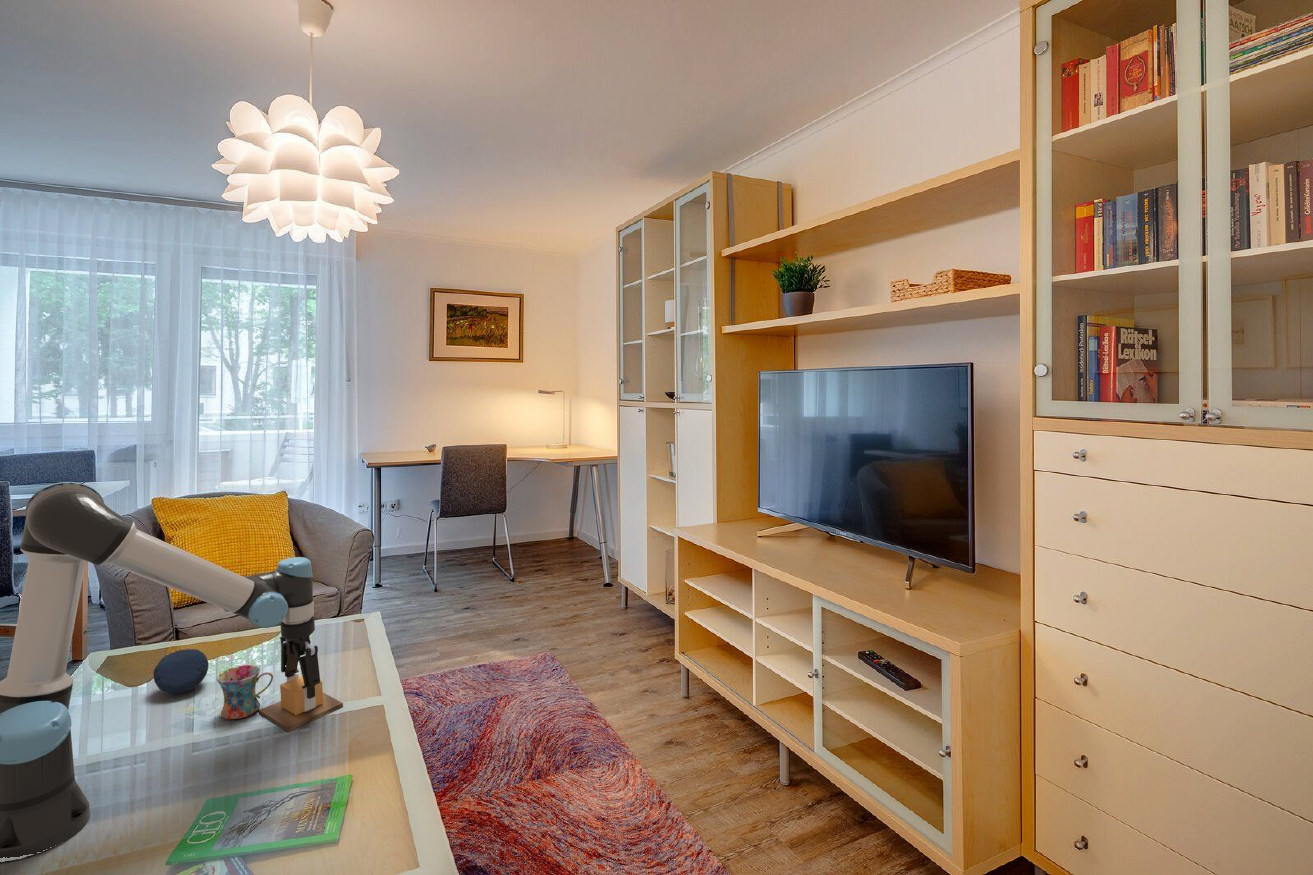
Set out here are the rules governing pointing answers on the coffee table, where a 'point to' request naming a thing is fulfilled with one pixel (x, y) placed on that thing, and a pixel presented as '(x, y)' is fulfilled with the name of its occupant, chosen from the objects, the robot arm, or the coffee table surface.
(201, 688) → the coffee table surface
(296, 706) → the tan cardboard box
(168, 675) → the decorative stone
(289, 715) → the post board
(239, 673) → the mug
